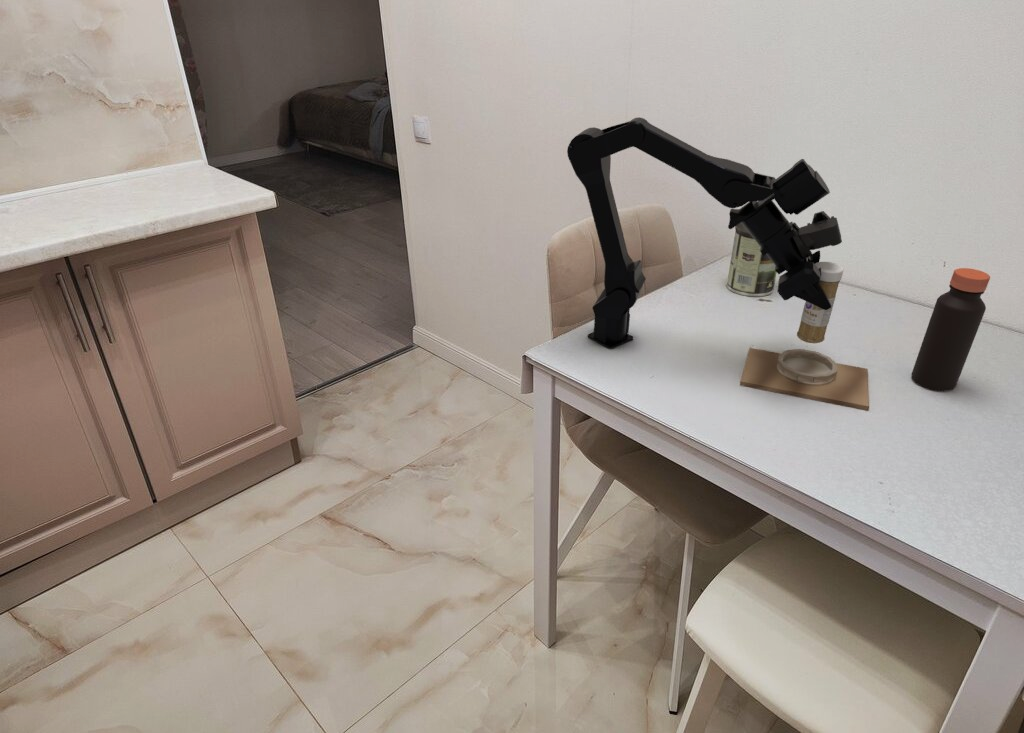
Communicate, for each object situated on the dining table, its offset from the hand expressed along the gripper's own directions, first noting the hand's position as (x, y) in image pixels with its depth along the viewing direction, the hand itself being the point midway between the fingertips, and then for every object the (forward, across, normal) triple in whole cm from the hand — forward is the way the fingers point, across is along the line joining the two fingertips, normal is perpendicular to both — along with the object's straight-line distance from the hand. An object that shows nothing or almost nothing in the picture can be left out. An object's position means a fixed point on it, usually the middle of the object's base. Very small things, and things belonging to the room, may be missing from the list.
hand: (828, 302), depth 111 cm
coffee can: (+1, +35, +19) cm, 39 cm away
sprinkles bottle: (+4, 0, +6) cm, 7 cm away
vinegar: (+23, +3, -4) cm, 24 cm away
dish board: (+9, -3, +10) cm, 14 cm away
